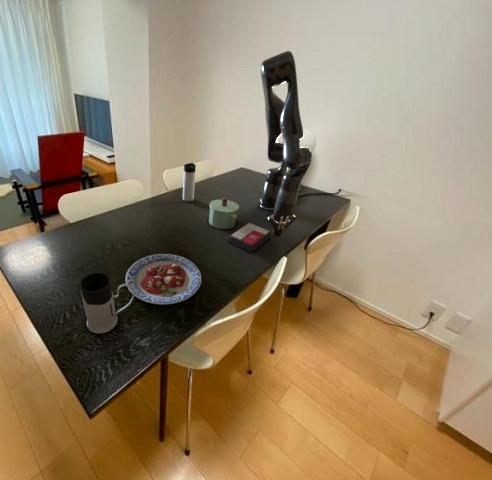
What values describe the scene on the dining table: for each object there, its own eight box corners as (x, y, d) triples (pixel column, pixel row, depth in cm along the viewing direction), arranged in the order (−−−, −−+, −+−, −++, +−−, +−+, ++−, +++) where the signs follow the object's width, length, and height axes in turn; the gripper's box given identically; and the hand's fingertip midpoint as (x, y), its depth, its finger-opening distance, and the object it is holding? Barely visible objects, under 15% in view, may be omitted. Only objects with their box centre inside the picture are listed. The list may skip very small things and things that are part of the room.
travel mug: (195, 198, 151) (197, 163, 140) (191, 202, 146) (193, 167, 135) (185, 196, 153) (187, 162, 142) (180, 200, 148) (182, 165, 137)
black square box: (229, 234, 111) (248, 221, 120) (228, 242, 114) (247, 229, 122) (252, 245, 105) (271, 230, 114) (251, 253, 107) (269, 238, 116)
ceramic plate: (133, 257, 103) (132, 250, 101) (199, 259, 102) (199, 253, 101) (118, 307, 81) (117, 300, 79) (202, 310, 80) (203, 303, 79)
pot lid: (227, 199, 131) (229, 190, 129) (244, 211, 121) (246, 201, 118) (204, 204, 126) (204, 194, 124) (219, 216, 116) (220, 206, 113)
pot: (222, 212, 137) (224, 197, 132) (243, 228, 123) (246, 212, 119) (201, 216, 132) (202, 201, 128) (220, 233, 119) (223, 217, 114)
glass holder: (90, 309, 80) (82, 271, 72) (137, 308, 81) (134, 270, 73) (83, 333, 73) (73, 294, 64) (135, 332, 73) (131, 292, 65)
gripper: (276, 203, 102) (266, 241, 112) (307, 202, 104) (295, 239, 114) (267, 196, 108) (259, 232, 118) (296, 194, 110) (286, 230, 120)
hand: (276, 235), depth 116 cm, fingers closed
